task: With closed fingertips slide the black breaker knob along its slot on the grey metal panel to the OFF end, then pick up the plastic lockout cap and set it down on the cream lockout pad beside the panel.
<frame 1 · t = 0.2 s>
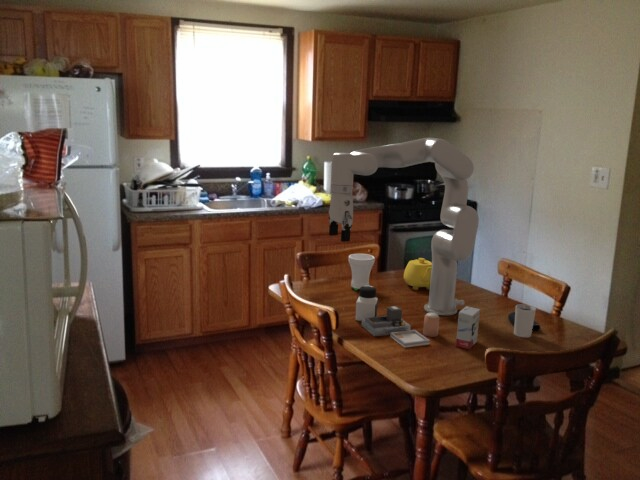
hand: (339, 238, 201), 31 cm above the table, fingers open, 9 cm apart
medicine bottle: (366, 318, 213), on the table
ink box: (466, 344, 193), on the table
teapot: (420, 287, 253), on the table
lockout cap: (430, 334, 200), on the table
lockout pad: (409, 340, 194), on the table
toggle: (394, 314, 203), point 5 cm above the table, slide at 0.0 cm
cup: (359, 289, 248), on the table
electronic device: (522, 325, 214), on the table
breaker panel: (385, 328, 203), on the table
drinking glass: (522, 334, 203), on the table
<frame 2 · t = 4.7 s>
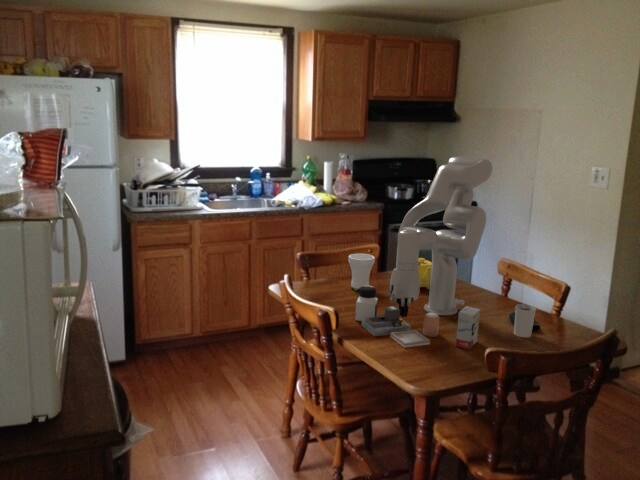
hand: (402, 315, 205), 4 cm above the table, fingers closed
toggle: (392, 314, 203), point 5 cm above the table, slide at 0.7 cm, touching gripper
everything else where it was.
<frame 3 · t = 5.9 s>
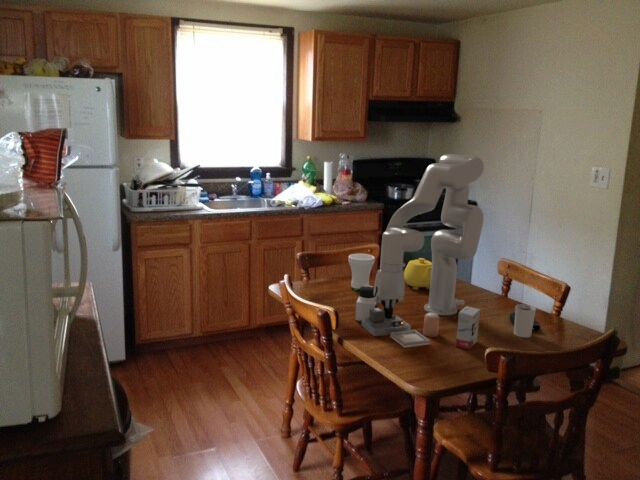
hand: (387, 317, 202), 4 cm above the table, fingers closed
toggle: (377, 315, 201), point 5 cm above the table, slide at 6.7 cm, touching gripper
everything else where it was.
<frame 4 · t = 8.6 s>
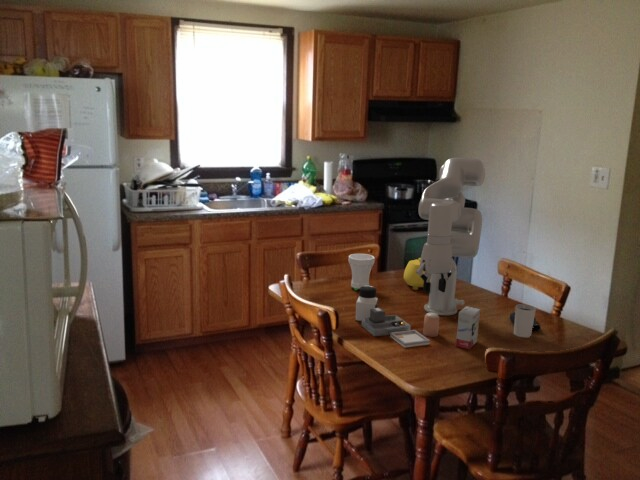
hand: (434, 291, 197), 15 cm above the table, fingers open, 5 cm apart
toggle: (377, 315, 201), point 5 cm above the table, slide at 6.5 cm
everything else where it was.
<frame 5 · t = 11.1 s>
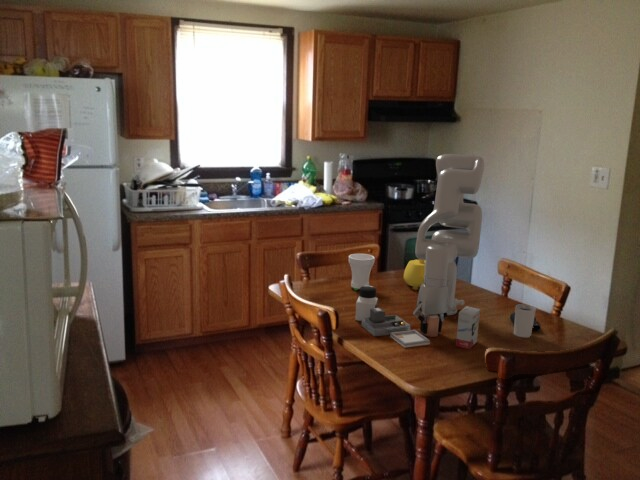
hand: (430, 331, 200), 1 cm above the table, fingers closed on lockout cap, 5 cm apart
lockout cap: (430, 334, 200), on the table, touching gripper
everything else where it was.
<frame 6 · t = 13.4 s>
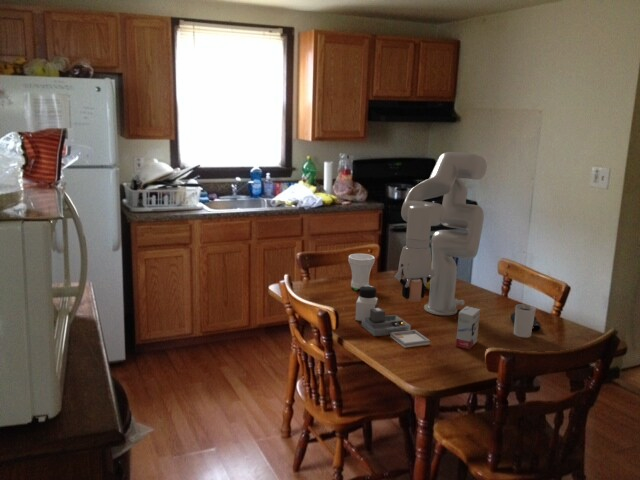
hand: (413, 296, 191), 15 cm above the table, fingers closed on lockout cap, 5 cm apart
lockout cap: (413, 299, 191), point 14 cm above the table, touching gripper
everything else where it was.
when the fingers open (3 cm above the table, at t = 16.1 s): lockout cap drops 1 cm, resting on lockout pad.
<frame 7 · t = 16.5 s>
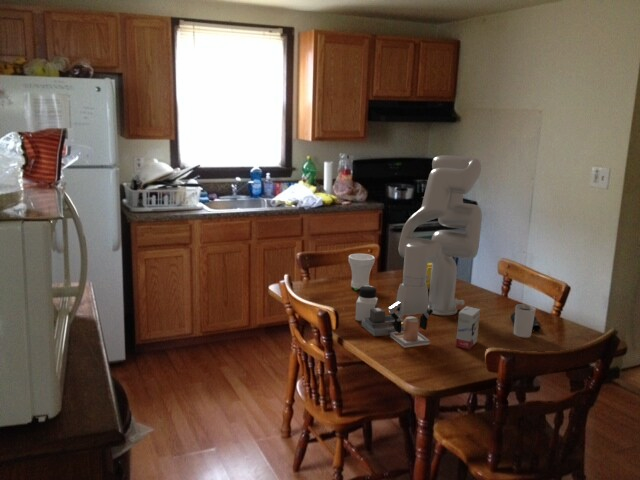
hand: (410, 329, 193), 4 cm above the table, fingers open, 9 cm apart
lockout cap: (410, 338, 194), point 1 cm above the table, touching lockout pad
everything else where it was.
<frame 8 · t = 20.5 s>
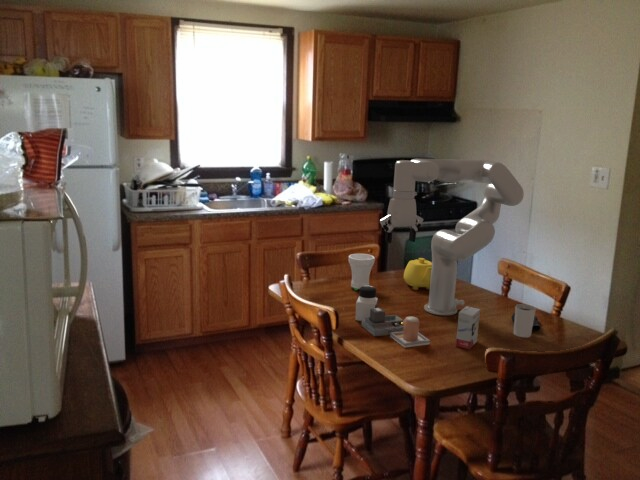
hand: (400, 241, 211), 28 cm above the table, fingers open, 9 cm apart
nothing on the table moved.
at the end: toggle slide at 6.5 cm; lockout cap inside the target area on the lockout pad (0.1 cm from its centre), point 0.7 cm above the lockout pad's base; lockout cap tilted 1° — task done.
